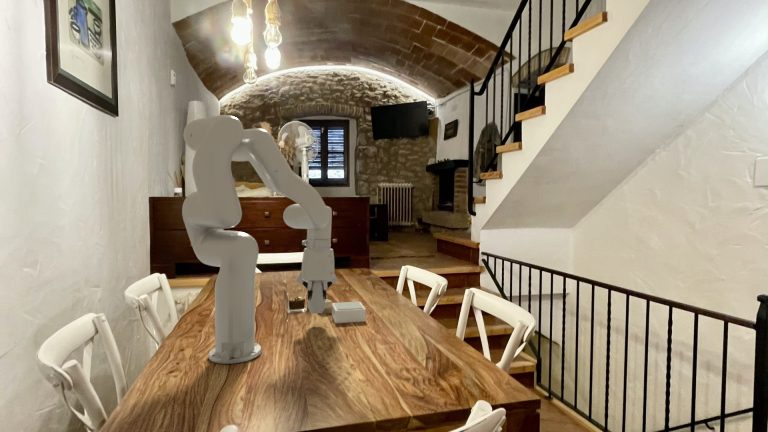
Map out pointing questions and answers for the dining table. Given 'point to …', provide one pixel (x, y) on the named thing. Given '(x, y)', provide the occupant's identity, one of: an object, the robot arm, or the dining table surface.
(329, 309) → the tan block
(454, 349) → the dining table surface
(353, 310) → the base block
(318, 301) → the salt shaker
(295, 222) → the robot arm
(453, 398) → the dining table surface
